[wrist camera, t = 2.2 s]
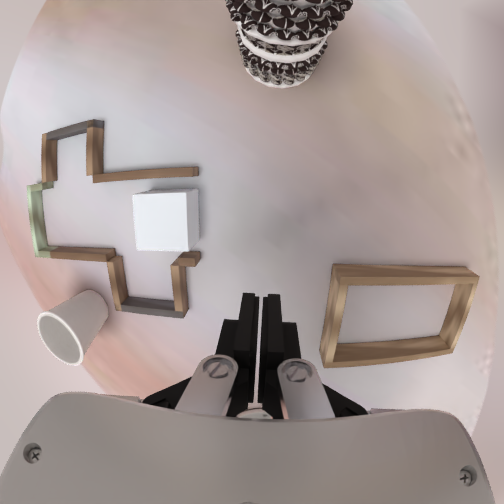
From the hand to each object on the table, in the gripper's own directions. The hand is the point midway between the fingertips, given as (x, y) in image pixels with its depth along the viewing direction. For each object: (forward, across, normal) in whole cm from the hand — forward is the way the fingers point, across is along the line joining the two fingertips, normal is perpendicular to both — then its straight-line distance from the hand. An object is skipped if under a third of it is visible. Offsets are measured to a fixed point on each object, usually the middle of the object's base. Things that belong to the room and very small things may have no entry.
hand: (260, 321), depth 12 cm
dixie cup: (+19, +25, +14) cm, 35 cm away
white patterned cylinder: (+21, -1, -19) cm, 29 cm away
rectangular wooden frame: (+19, -20, +11) cm, 30 cm away
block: (+20, +11, 0) cm, 23 cm away
